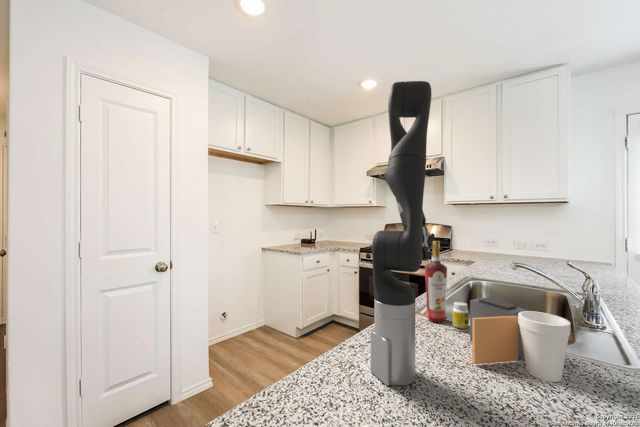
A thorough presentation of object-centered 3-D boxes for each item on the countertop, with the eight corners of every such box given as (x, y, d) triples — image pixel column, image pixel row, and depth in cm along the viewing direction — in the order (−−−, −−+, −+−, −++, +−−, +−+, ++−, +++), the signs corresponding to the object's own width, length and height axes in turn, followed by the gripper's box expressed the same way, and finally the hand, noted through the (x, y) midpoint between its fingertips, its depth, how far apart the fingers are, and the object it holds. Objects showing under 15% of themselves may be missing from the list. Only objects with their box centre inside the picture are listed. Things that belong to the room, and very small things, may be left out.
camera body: (513, 360, 70) (513, 310, 70) (470, 340, 81) (470, 298, 81) (527, 355, 72) (526, 307, 73) (483, 337, 83) (483, 295, 83)
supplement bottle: (467, 333, 86) (467, 306, 86) (451, 329, 89) (451, 303, 89) (469, 328, 90) (469, 302, 90) (454, 325, 92) (454, 300, 93)
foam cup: (549, 389, 58) (549, 327, 58) (509, 366, 67) (508, 313, 67) (581, 382, 60) (580, 323, 61) (538, 360, 69) (537, 309, 70)
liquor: (443, 317, 100) (443, 240, 100) (450, 324, 93) (449, 242, 93) (422, 315, 101) (422, 240, 101) (427, 323, 94) (427, 242, 94)
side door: (518, 360, 68) (517, 316, 69) (474, 364, 67) (474, 319, 67) (515, 359, 69) (515, 315, 69) (472, 362, 68) (472, 317, 68)
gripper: (402, 202, 87) (418, 252, 77) (433, 209, 92) (451, 257, 83) (388, 214, 92) (401, 262, 83) (418, 220, 98) (432, 266, 88)
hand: (425, 259), depth 83 cm, fingers closed
